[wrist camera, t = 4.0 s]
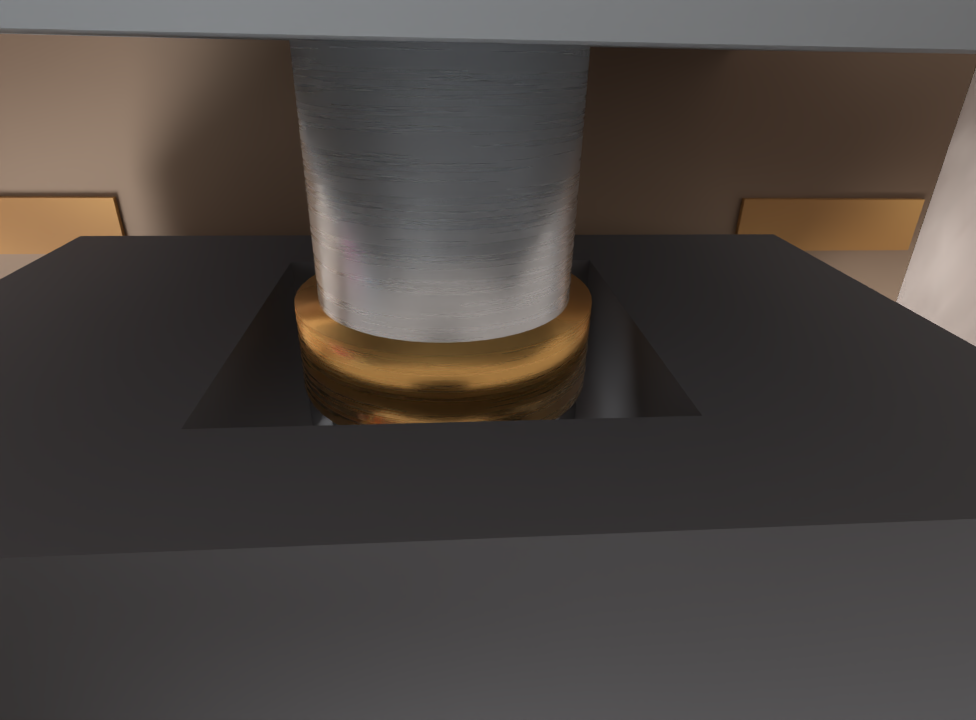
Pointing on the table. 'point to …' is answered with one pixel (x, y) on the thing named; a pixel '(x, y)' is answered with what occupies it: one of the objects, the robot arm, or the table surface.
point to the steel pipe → (441, 229)
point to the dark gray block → (484, 503)
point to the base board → (604, 157)
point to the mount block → (526, 22)
